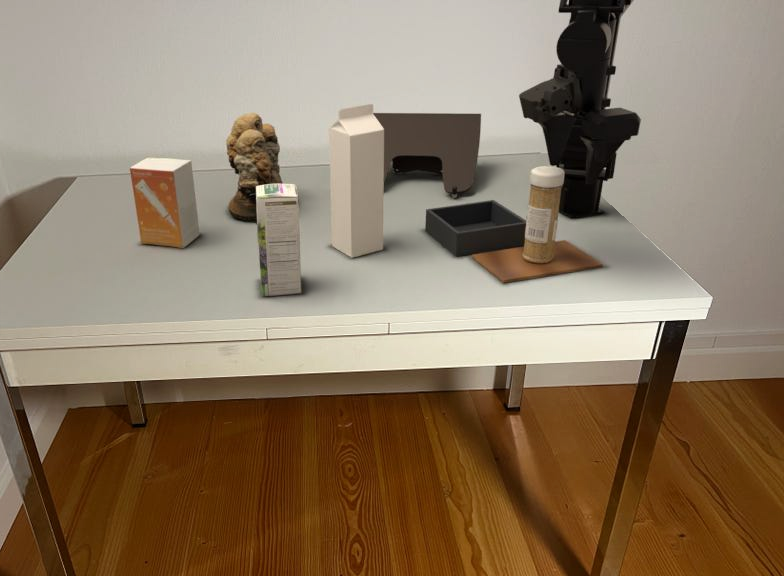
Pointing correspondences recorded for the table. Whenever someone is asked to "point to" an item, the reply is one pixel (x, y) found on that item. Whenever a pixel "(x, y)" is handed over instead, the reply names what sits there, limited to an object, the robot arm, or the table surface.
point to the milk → (357, 181)
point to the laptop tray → (433, 145)
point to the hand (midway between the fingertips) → (571, 174)
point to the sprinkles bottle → (542, 213)
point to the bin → (475, 227)
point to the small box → (165, 201)
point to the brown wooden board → (516, 268)
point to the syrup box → (278, 239)
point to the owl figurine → (252, 161)
